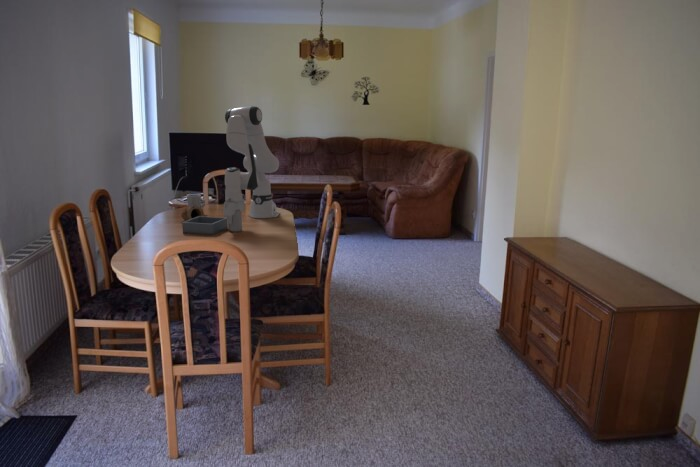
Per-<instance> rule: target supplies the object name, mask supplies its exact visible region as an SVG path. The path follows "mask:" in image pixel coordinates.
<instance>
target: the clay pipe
mask: <svg viewBox="0 0 700 467" xmlns="http://www.w3.org/2000/svg"><path fill="white" fill-rule="evenodd" d="M180 215H181V218H182V219H183V220H184V222H185V221H187V220H190V219H193V218H195V217H198V216H204V217H205V214H204V210H203V209H202V207H201V208H200V207H198V206H191V207H188V206H187V207H186V208H184V209H183V211H182V212H181V214H180Z"/></svg>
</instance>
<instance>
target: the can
mask: <svg viewBox="0 0 700 467" xmlns="http://www.w3.org/2000/svg"><path fill="white" fill-rule="evenodd" d="M242 214H243V213H242V212H241V211H240V209H239V210H238V211H235V214H234V215H232V218H231V219H232V220H233V223H232V224H229V223H228V228H227V229H228V231H229V232H232V233H238V232H241V231H242V230H243V221H242V220H243V217H242V216H243V215H242Z"/></svg>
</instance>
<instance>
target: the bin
mask: <svg viewBox="0 0 700 467" xmlns="http://www.w3.org/2000/svg"><path fill="white" fill-rule="evenodd" d="M181 224H182V226H181V227H182V234H189V235H191V234H192V235H209V236H213V235H214V236H215V235H216V234H219V233H221V232H222V231H225V230H227V229H228V219H227V217H219V216H205V215H204V216H198V217H195V218H193V219H190V220H187V221H185V220H184V221H182V223H181Z"/></svg>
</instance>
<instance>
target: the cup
mask: <svg viewBox="0 0 700 467" xmlns="http://www.w3.org/2000/svg"><path fill="white" fill-rule="evenodd" d="M186 200H187V208H188V207H191V206H198V207H200V208H201V209H202V208H204V207H205V206H206V200H205V199H203V198H202V195H201V194H198V193H197V194H196V193H191V194H187V195H186Z"/></svg>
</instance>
